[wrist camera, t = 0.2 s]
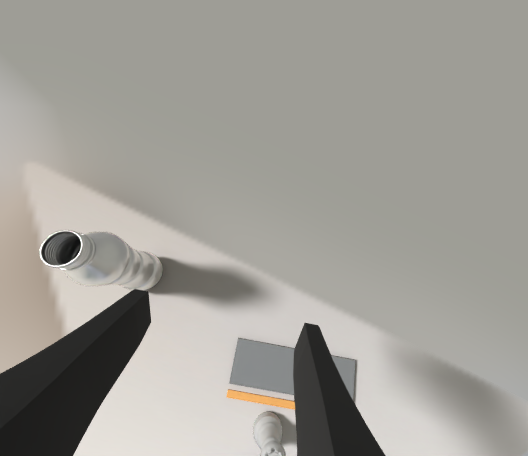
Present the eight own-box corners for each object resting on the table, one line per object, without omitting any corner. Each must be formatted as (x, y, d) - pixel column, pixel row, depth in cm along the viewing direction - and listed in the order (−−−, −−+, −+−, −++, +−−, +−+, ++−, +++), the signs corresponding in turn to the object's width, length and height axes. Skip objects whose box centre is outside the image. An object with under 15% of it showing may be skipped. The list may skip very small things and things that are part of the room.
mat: (351, 404, 37) (353, 405, 36) (229, 382, 36) (229, 383, 36) (353, 359, 39) (355, 360, 38) (238, 337, 38) (238, 338, 38)
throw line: (350, 419, 36) (351, 419, 36) (226, 396, 36) (226, 397, 36) (350, 411, 37) (351, 412, 36) (228, 389, 36) (227, 389, 36)
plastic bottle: (128, 256, 41) (28, 217, 22) (167, 253, 42) (104, 213, 23) (124, 293, 39) (12, 287, 20) (166, 289, 40) (95, 280, 21)
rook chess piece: (277, 406, 36) (287, 434, 28) (284, 440, 35) (296, 479, 27) (249, 415, 35) (251, 446, 28) (255, 449, 34) (259, 492, 26)
